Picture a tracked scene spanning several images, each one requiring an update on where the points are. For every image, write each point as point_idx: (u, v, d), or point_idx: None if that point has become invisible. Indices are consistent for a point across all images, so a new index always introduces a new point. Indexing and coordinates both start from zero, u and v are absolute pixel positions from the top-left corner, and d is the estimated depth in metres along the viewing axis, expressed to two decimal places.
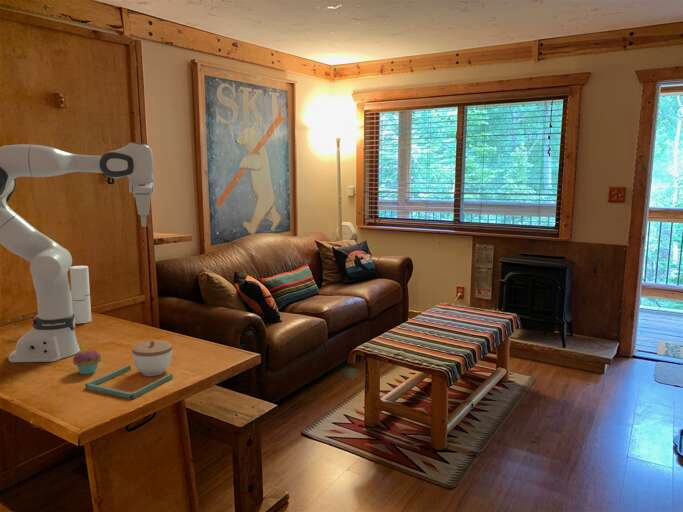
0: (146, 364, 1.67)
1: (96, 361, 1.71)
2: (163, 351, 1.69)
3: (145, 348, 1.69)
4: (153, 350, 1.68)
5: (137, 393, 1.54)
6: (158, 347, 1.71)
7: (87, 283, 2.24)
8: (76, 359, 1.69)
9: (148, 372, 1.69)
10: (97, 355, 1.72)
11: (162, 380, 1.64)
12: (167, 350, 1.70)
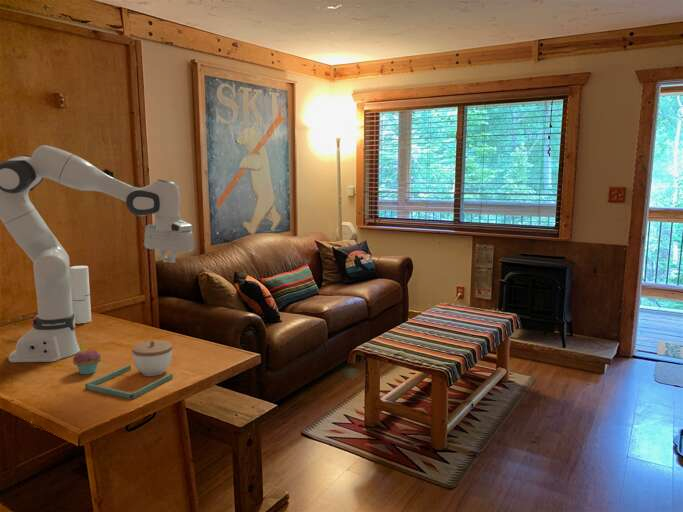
0: (146, 364, 1.67)
1: (96, 361, 1.71)
2: (163, 351, 1.69)
3: (145, 348, 1.69)
4: (153, 350, 1.68)
5: (137, 393, 1.54)
6: (158, 347, 1.71)
7: (87, 283, 2.24)
8: (76, 359, 1.69)
9: (148, 372, 1.69)
10: (97, 355, 1.72)
11: (162, 380, 1.64)
12: (167, 350, 1.70)
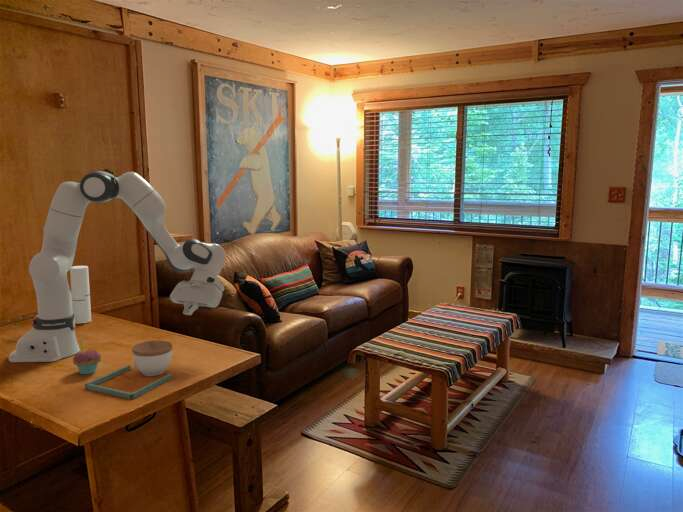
0: (146, 364, 1.67)
1: (96, 361, 1.71)
2: (163, 351, 1.69)
3: (145, 348, 1.69)
4: (153, 350, 1.68)
5: (137, 393, 1.54)
6: (158, 347, 1.71)
7: (87, 283, 2.24)
8: (76, 359, 1.69)
9: (148, 372, 1.69)
10: (97, 355, 1.72)
11: (162, 380, 1.64)
12: (167, 350, 1.70)
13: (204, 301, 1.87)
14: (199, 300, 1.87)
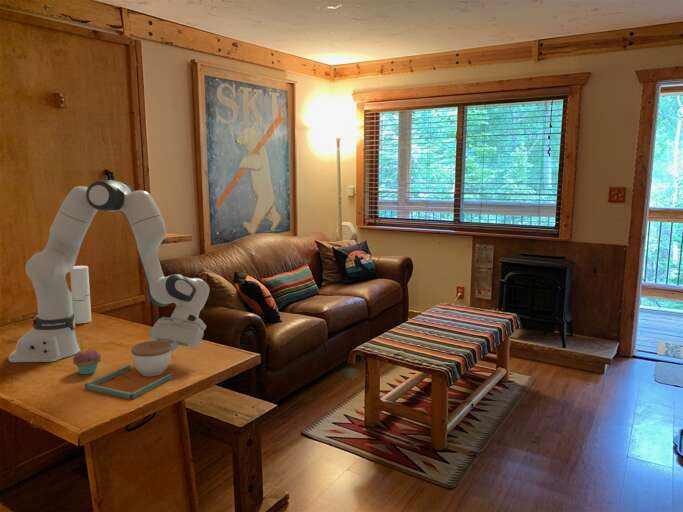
0: (145, 364, 1.67)
1: (96, 361, 1.71)
2: (162, 351, 1.68)
3: (144, 348, 1.69)
4: (152, 350, 1.68)
5: (137, 393, 1.54)
6: (157, 347, 1.70)
7: (87, 283, 2.24)
8: (76, 359, 1.69)
9: (147, 372, 1.68)
10: (97, 355, 1.72)
11: (162, 380, 1.64)
12: (166, 350, 1.70)
13: (184, 341, 1.78)
14: (179, 339, 1.79)
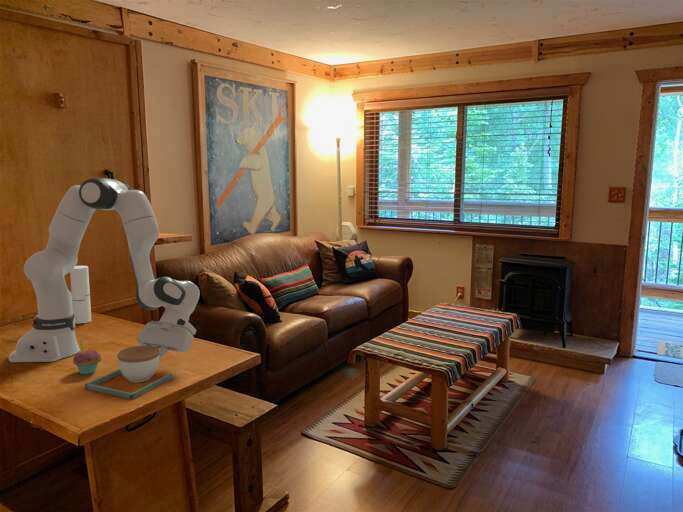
0: (131, 370, 1.61)
1: (96, 361, 1.71)
2: (149, 357, 1.63)
3: (130, 354, 1.64)
4: (138, 355, 1.63)
5: (137, 393, 1.54)
6: (144, 353, 1.65)
7: (87, 283, 2.24)
8: (76, 359, 1.69)
9: (133, 379, 1.63)
10: (97, 355, 1.72)
11: (162, 380, 1.64)
12: (153, 356, 1.64)
13: (173, 346, 1.73)
14: (168, 344, 1.74)
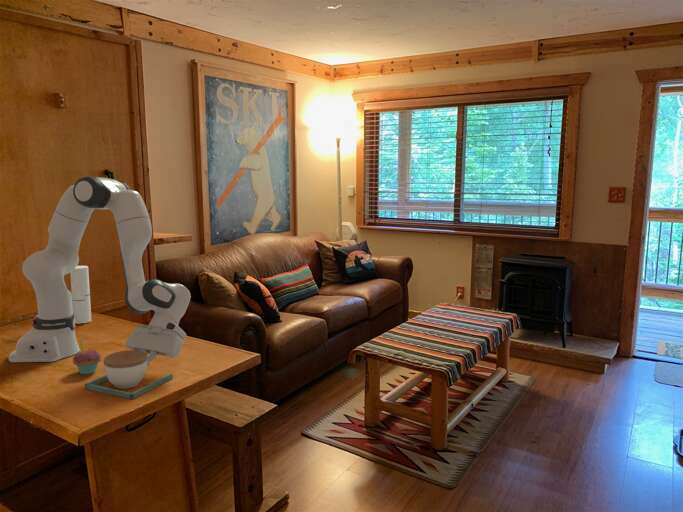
0: (116, 376, 1.57)
1: (96, 361, 1.71)
2: (135, 363, 1.58)
3: (116, 359, 1.59)
4: (124, 361, 1.58)
5: (137, 393, 1.54)
6: (131, 358, 1.60)
7: (87, 283, 2.24)
8: (76, 359, 1.69)
9: (119, 385, 1.58)
10: (97, 355, 1.72)
11: (162, 380, 1.64)
12: (139, 362, 1.59)
13: (162, 351, 1.68)
14: (157, 349, 1.69)
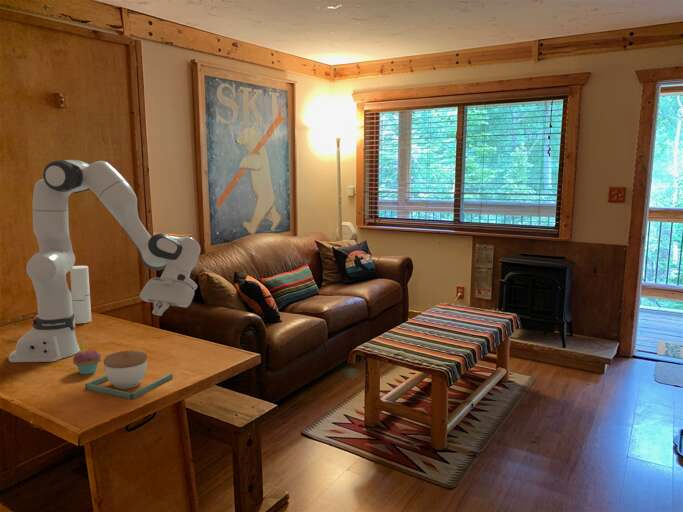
0: (116, 376, 1.57)
1: (96, 361, 1.71)
2: (135, 363, 1.58)
3: (116, 359, 1.59)
4: (124, 361, 1.58)
5: (137, 393, 1.54)
6: (131, 358, 1.60)
7: (87, 283, 2.24)
8: (76, 359, 1.69)
9: (119, 385, 1.58)
10: (97, 355, 1.72)
11: (162, 380, 1.64)
12: (139, 362, 1.59)
13: (174, 301, 1.73)
14: (169, 300, 1.74)
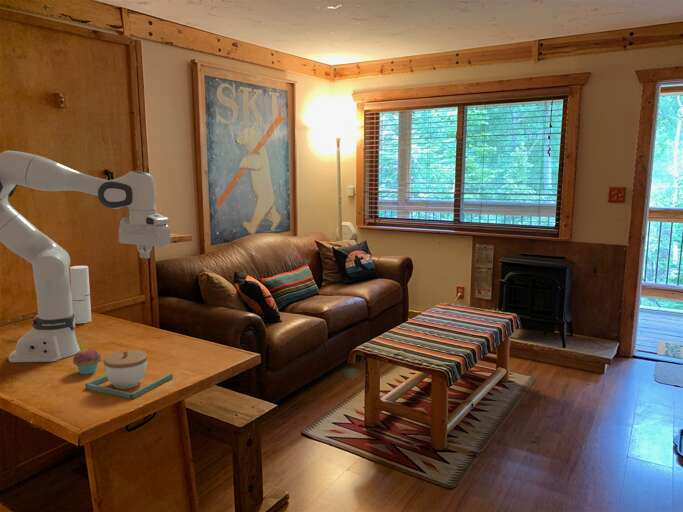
0: (116, 376, 1.57)
1: (96, 361, 1.71)
2: (135, 363, 1.58)
3: (116, 359, 1.59)
4: (124, 361, 1.58)
5: (137, 393, 1.54)
6: (131, 358, 1.60)
7: (87, 283, 2.24)
8: (76, 359, 1.69)
9: (119, 385, 1.58)
10: (97, 355, 1.72)
11: (162, 380, 1.64)
12: (139, 362, 1.59)
13: (155, 245, 1.75)
14: (149, 244, 1.76)
